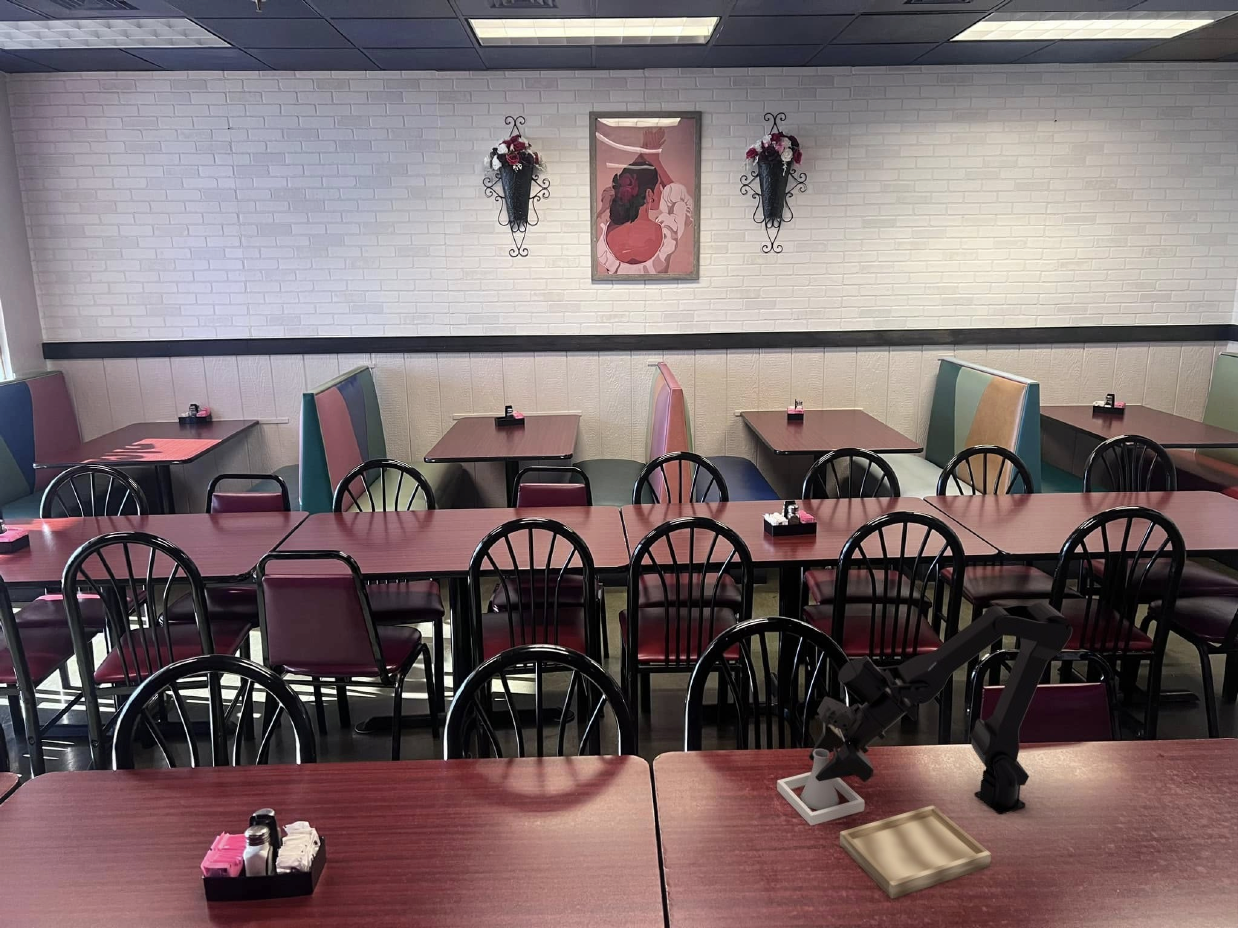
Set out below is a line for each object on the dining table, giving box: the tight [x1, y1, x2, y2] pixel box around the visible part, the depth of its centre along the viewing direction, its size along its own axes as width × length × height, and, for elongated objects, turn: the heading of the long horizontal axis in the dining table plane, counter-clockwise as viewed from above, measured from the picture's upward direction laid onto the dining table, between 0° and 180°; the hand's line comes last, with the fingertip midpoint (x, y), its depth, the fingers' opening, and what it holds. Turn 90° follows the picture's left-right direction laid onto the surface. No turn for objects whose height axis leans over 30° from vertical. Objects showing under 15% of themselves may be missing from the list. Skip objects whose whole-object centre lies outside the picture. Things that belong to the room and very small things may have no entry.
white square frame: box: [776, 771, 866, 826], centre depth 156 cm, size 12×12×2 cm
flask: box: [799, 749, 840, 811], centre depth 156 cm, size 7×7×10 cm
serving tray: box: [839, 804, 992, 900], centre depth 141 cm, size 20×14×2 cm
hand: (813, 768), depth 155 cm, fingers open, 6 cm apart
